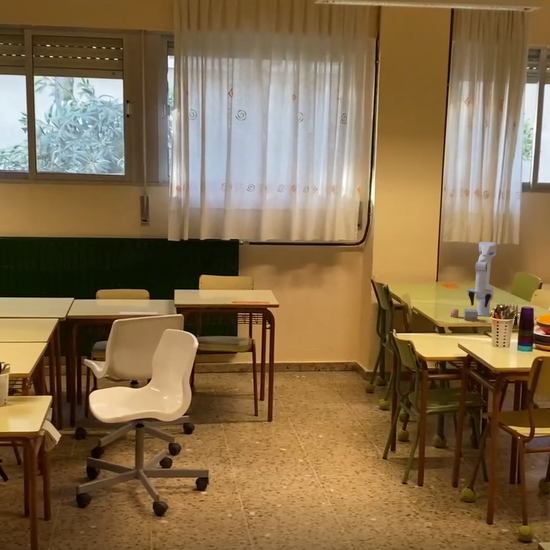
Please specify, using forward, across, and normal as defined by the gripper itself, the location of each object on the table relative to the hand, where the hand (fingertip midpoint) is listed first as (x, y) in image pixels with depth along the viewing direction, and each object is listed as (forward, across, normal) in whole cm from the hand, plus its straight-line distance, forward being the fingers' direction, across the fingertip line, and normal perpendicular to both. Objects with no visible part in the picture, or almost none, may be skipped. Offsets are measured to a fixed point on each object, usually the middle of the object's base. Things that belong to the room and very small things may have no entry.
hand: (479, 306), depth 393 cm
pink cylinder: (+10, -16, +7) cm, 20 cm away
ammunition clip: (+10, +15, +7) cm, 19 cm away
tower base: (+10, -6, +5) cm, 13 cm away
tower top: (+7, -6, +5) cm, 11 cm away
